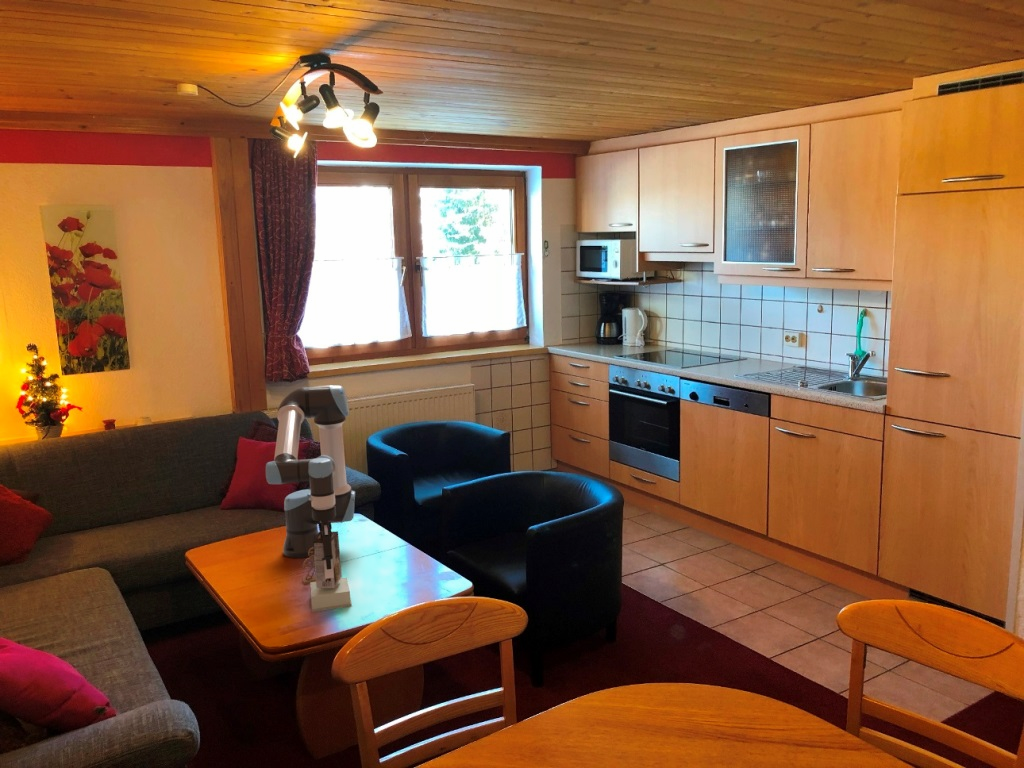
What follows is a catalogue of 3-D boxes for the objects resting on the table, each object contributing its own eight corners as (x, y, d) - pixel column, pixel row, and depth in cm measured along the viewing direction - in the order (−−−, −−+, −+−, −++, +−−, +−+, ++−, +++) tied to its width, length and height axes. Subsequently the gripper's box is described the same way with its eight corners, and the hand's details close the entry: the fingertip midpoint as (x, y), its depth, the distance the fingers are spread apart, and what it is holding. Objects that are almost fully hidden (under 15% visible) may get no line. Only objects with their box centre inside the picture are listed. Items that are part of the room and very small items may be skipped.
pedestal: (310, 596, 273) (309, 582, 272) (348, 590, 276) (347, 576, 275) (311, 611, 261) (310, 597, 260) (351, 606, 264) (350, 591, 263)
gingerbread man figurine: (304, 585, 283) (301, 552, 281) (301, 581, 286) (298, 548, 284) (329, 579, 287) (327, 546, 285) (326, 575, 290) (323, 543, 288)
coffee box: (323, 577, 272) (319, 531, 269) (342, 576, 272) (338, 530, 269) (315, 588, 263) (311, 540, 260) (335, 588, 263) (331, 540, 260)
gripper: (310, 497, 273) (315, 560, 277) (313, 518, 251) (318, 586, 255) (333, 495, 275) (337, 557, 279) (337, 515, 253) (342, 583, 257)
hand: (328, 571), depth 267 cm, fingers closed on coffee box, 10 cm apart
